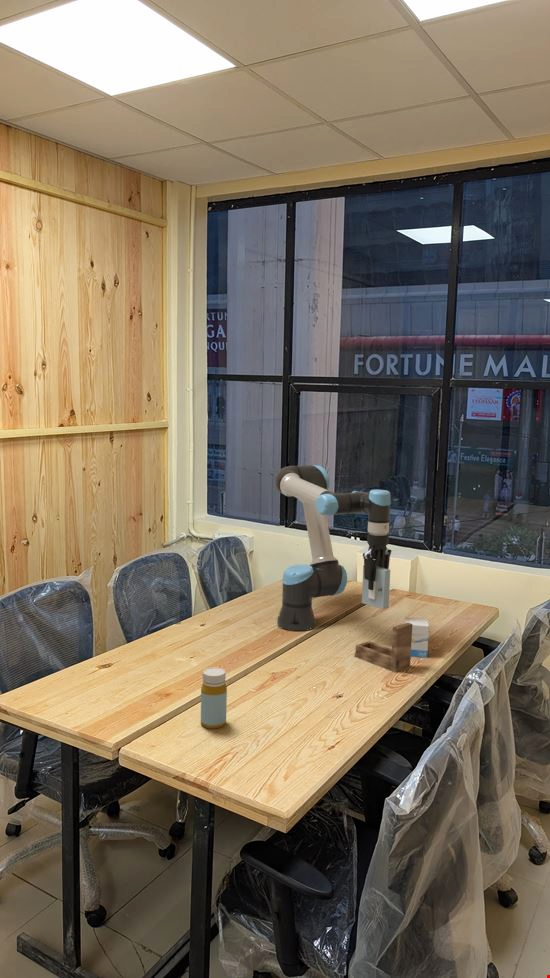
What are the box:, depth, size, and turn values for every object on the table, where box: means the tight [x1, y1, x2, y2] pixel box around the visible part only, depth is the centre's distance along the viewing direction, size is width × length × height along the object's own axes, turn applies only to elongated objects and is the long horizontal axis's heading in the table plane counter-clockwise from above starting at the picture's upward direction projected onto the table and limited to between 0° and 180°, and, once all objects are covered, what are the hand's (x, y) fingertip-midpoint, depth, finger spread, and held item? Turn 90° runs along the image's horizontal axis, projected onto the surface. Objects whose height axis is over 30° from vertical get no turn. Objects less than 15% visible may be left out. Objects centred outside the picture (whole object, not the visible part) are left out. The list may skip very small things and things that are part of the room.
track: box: [354, 622, 412, 673], centre depth 243 cm, size 18×8×15 cm, turn 42°
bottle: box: [200, 666, 228, 730], centre depth 194 cm, size 7×7×15 cm
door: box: [361, 564, 391, 610], centre depth 254 cm, size 10×4×14 cm, turn 42°
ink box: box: [404, 617, 430, 658], centre depth 253 cm, size 9×8×12 cm
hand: (375, 597), depth 255 cm, fingers closed on door, 3 cm apart
